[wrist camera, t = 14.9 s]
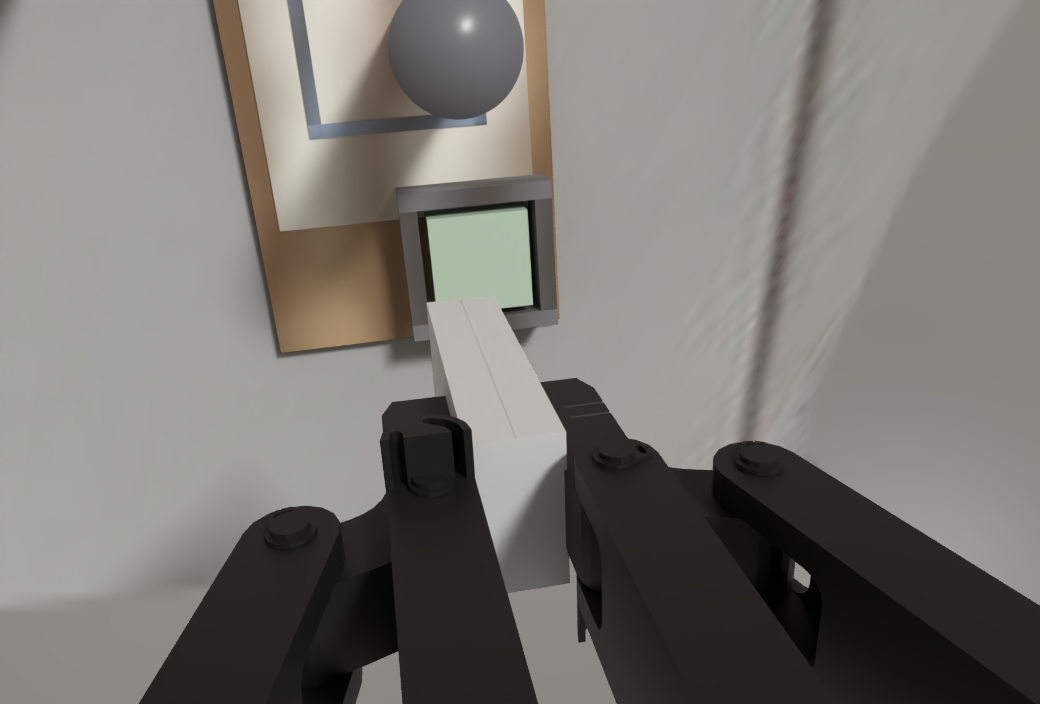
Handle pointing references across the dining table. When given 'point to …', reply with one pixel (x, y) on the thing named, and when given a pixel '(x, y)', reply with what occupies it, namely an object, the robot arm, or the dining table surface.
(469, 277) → the button
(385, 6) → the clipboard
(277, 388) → the dining table surface
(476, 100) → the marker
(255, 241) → the dining table surface
